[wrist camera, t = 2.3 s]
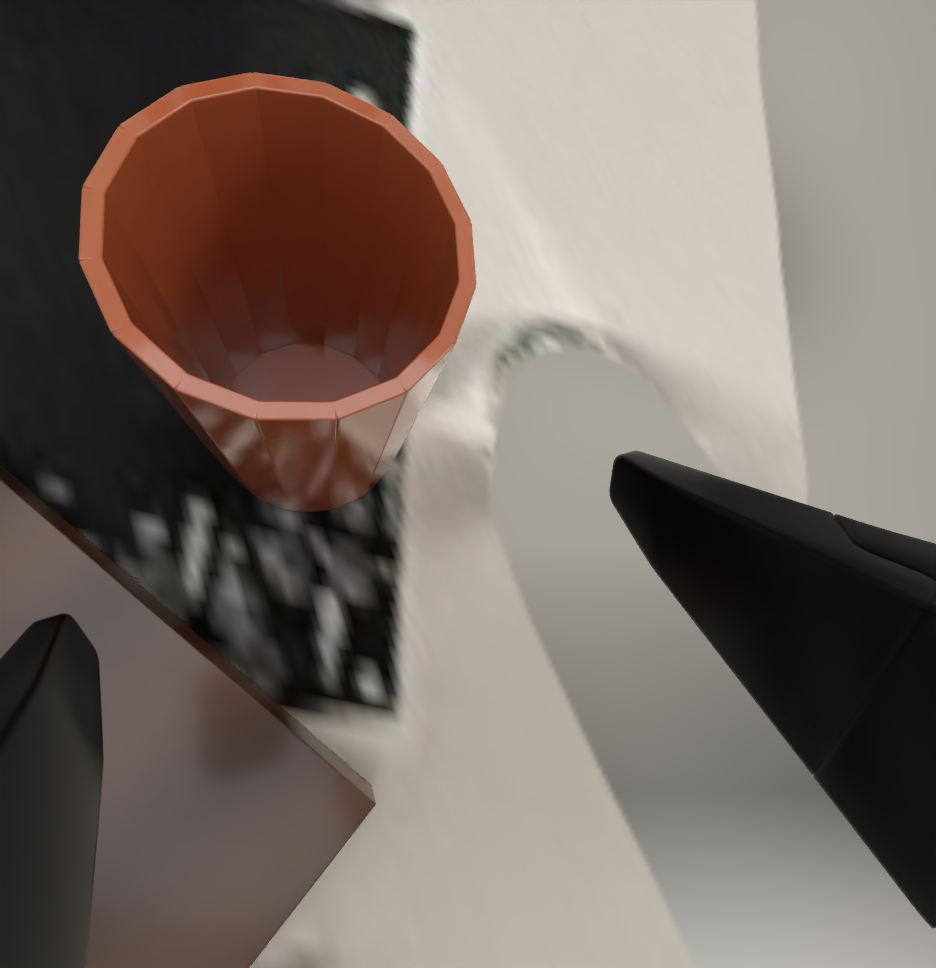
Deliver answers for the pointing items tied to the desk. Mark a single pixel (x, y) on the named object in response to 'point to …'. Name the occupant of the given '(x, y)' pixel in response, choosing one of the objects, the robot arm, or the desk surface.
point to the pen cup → (280, 276)
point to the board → (178, 764)
